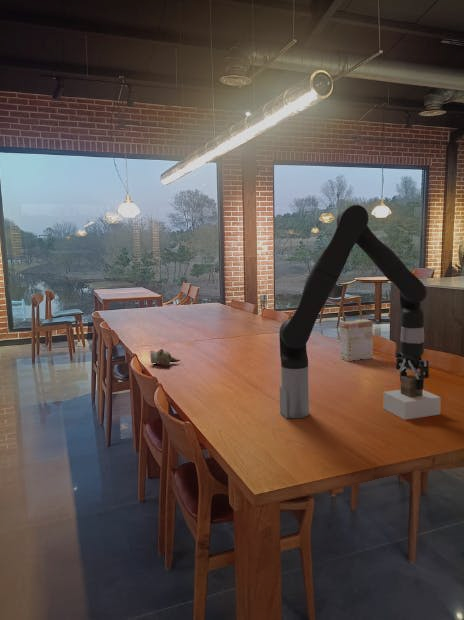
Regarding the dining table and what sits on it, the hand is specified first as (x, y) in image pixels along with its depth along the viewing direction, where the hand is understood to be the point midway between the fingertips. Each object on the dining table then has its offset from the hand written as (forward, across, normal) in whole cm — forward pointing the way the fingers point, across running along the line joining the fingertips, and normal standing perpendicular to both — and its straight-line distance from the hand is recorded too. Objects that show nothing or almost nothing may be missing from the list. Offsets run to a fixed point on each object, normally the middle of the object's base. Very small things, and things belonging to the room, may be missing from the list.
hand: (411, 386), depth 160 cm
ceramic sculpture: (+9, -102, -72) cm, 125 cm away
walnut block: (+3, 0, 0) cm, 3 cm away
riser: (+9, 0, 0) cm, 9 cm away
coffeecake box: (+9, -74, +23) cm, 78 cm away
